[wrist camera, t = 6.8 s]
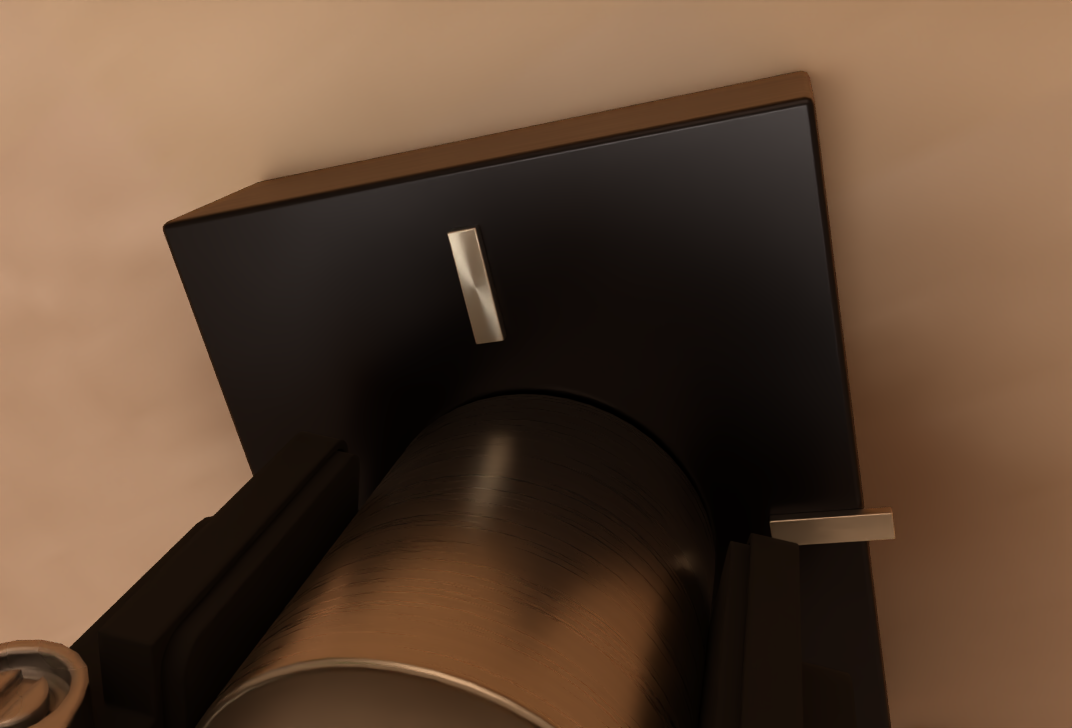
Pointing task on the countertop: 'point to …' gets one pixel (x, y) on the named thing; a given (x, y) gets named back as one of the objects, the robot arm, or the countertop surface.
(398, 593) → the hob knob
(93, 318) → the countertop surface
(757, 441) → the panel
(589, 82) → the countertop surface
